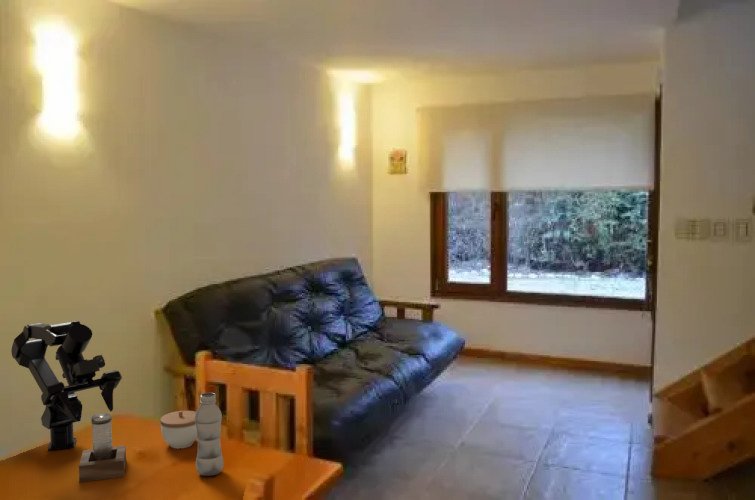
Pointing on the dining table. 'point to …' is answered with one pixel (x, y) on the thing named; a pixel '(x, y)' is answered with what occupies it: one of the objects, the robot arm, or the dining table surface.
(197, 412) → the plastic bottle
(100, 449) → the silver metal can
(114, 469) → the socket block
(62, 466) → the dining table surface
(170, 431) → the lidded jar
